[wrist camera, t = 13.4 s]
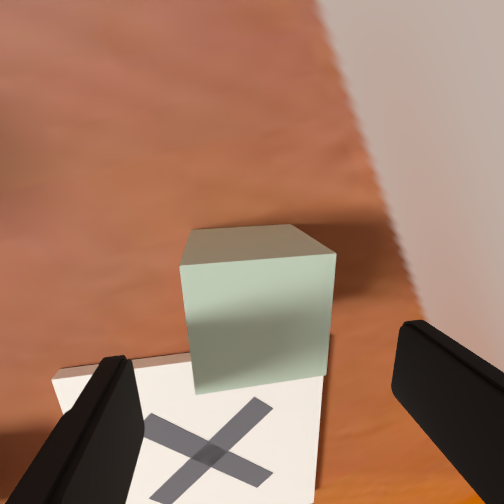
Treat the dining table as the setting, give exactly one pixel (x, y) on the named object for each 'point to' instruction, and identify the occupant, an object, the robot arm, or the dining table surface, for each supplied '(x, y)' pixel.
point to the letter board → (216, 436)
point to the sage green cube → (256, 305)
